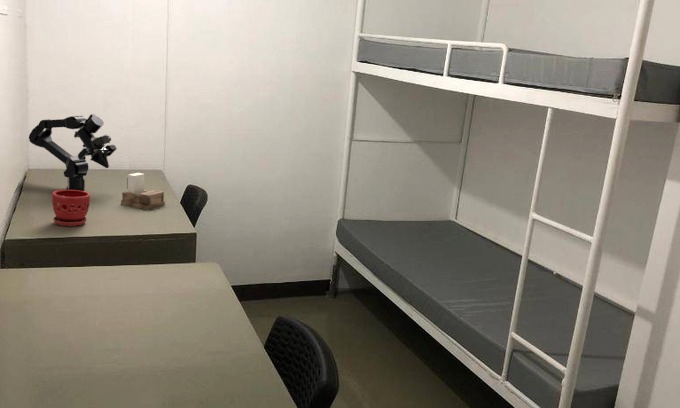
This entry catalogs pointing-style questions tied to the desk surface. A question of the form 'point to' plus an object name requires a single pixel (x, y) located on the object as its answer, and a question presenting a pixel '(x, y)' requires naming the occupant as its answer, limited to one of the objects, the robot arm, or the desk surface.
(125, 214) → the desk surface
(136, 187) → the white rectangular block
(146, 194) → the housing
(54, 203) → the plant pot
